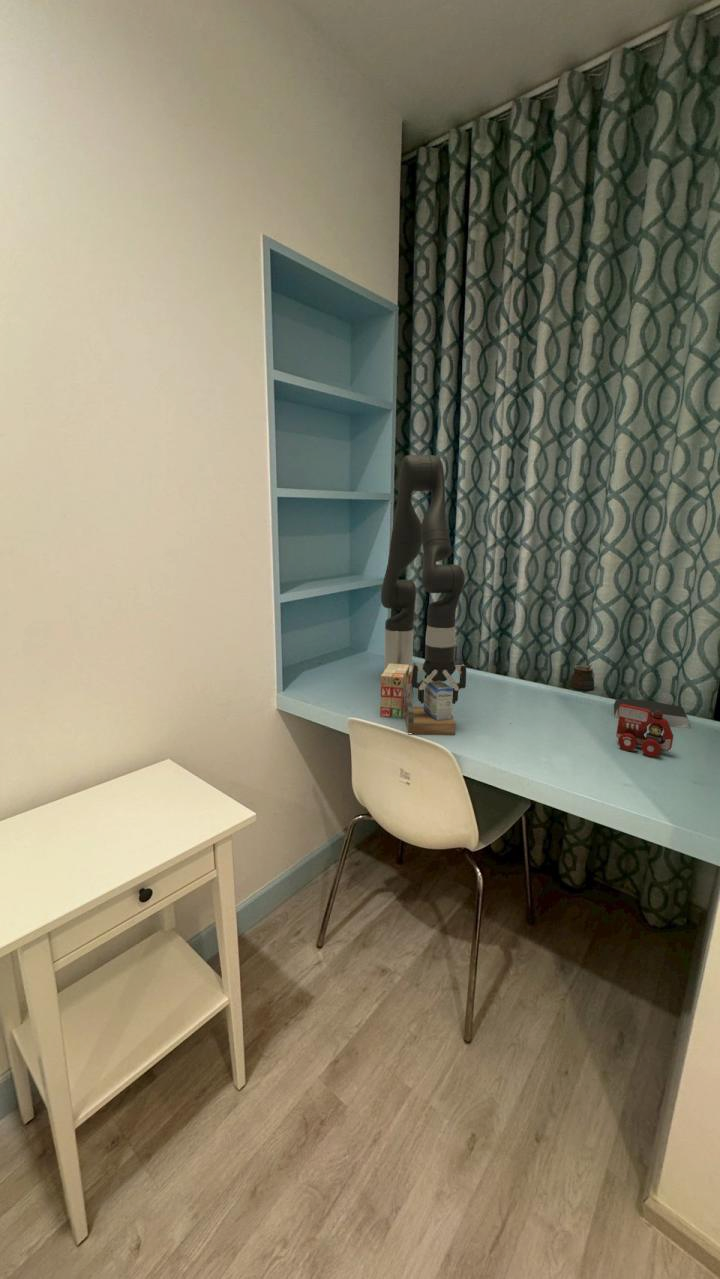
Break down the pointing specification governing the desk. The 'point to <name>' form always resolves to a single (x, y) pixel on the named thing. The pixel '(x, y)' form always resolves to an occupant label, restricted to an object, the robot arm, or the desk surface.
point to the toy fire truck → (643, 730)
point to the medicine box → (438, 700)
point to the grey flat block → (670, 712)
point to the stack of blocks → (395, 690)
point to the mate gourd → (582, 678)
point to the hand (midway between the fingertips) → (437, 702)
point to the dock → (426, 722)
